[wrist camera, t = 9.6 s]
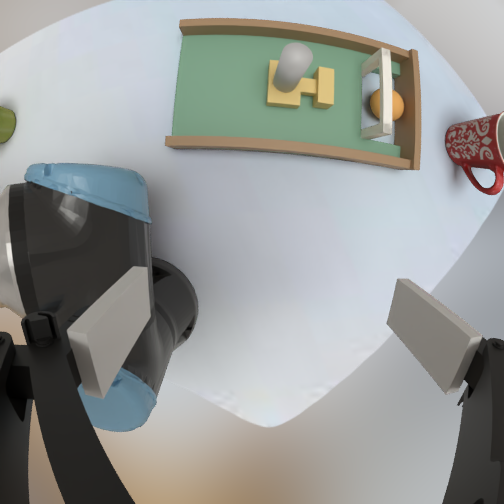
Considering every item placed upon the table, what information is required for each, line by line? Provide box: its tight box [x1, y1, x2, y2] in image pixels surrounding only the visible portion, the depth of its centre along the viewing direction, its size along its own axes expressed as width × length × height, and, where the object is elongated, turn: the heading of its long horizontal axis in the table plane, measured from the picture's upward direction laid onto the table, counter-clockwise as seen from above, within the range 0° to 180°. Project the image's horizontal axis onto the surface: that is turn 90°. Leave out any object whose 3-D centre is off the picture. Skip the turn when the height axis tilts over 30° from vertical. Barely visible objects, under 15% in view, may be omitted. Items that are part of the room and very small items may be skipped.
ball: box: [370, 89, 404, 121], centre depth 34 cm, size 5×5×5 cm
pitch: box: [165, 18, 421, 170], centre depth 31 cm, size 32×18×9 cm, turn 86°
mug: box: [446, 111, 504, 195], centre depth 31 cm, size 13×9×14 cm
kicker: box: [266, 43, 334, 109], centre depth 28 cm, size 8×6×11 cm
